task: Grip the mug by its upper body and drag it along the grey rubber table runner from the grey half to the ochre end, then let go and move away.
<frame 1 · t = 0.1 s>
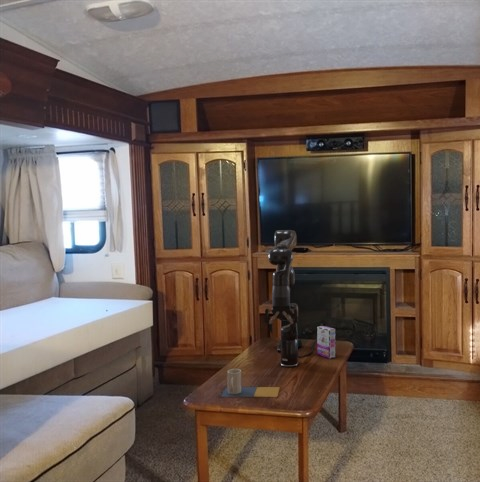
hand: (281, 332, 189), 29 cm above the table, tool pointing down, fingers open, 8 cm apart
candy bar box: (326, 356, 250), on the table
runner: (251, 392, 197), on the table
mug: (234, 391, 197), resting on runner
miniature car: (289, 349, 263), on the table
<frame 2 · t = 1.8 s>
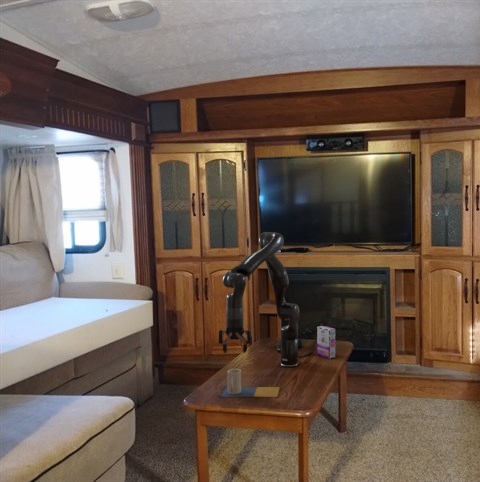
hand: (235, 352, 196), 18 cm above the table, tool pointing down, fingers open, 8 cm apart
nothing on the table moved.
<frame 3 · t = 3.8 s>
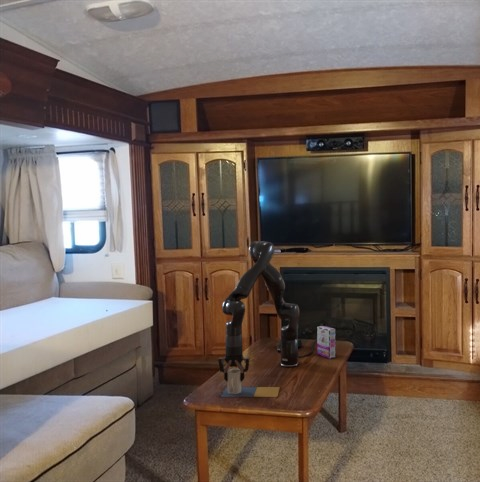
hand: (234, 380, 197), 5 cm above the table, tool pointing down, fingers closed on mug, 6 cm apart
mug: (234, 391, 197), resting on runner, touching gripper
everything else where it was.
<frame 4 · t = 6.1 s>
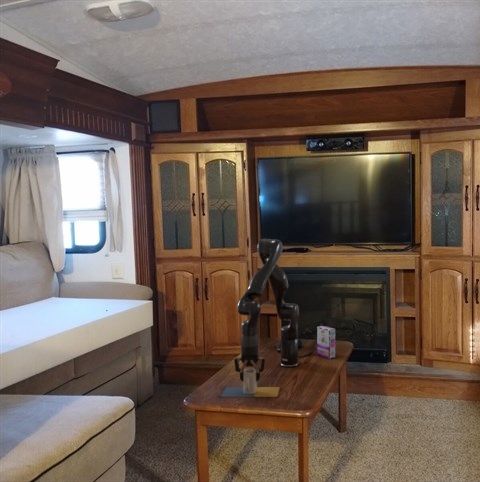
hand: (250, 380, 197), 5 cm above the table, tool pointing down, fingers closed on mug, 6 cm apart
mug: (250, 391, 198), resting on runner, touching gripper
everything else where it was.
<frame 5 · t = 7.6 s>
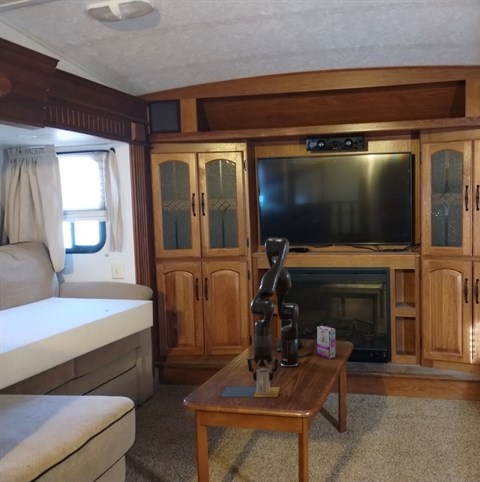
hand: (263, 380, 197), 5 cm above the table, tool pointing down, fingers closed on mug, 6 cm apart
mug: (263, 391, 197), resting on runner, touching gripper
everything else where it was.
when the fingers open (5 cm above the table, at t = 8.7 s): mug stays where it is, resting on runner.
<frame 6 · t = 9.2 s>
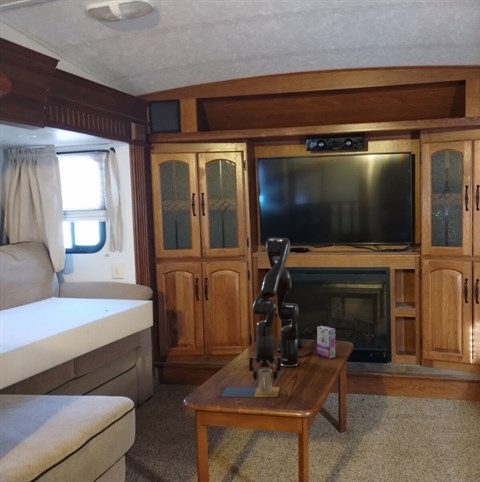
hand: (265, 379, 197), 6 cm above the table, tool pointing down, fingers open, 8 cm apart
mug: (265, 391, 197), resting on runner
everything else where it was.
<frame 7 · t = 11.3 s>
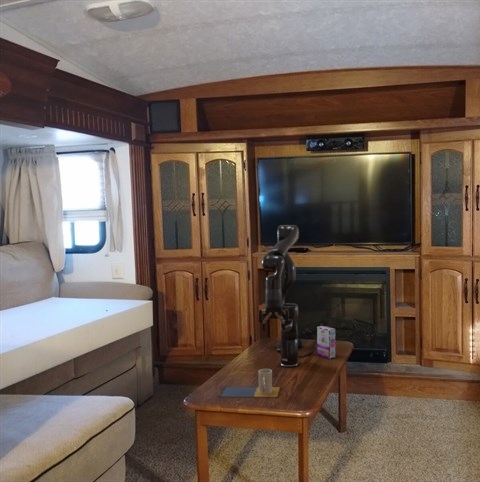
hand: (274, 331, 207), 25 cm above the table, tool pointing down, fingers open, 8 cm apart
nothing on the table moved.
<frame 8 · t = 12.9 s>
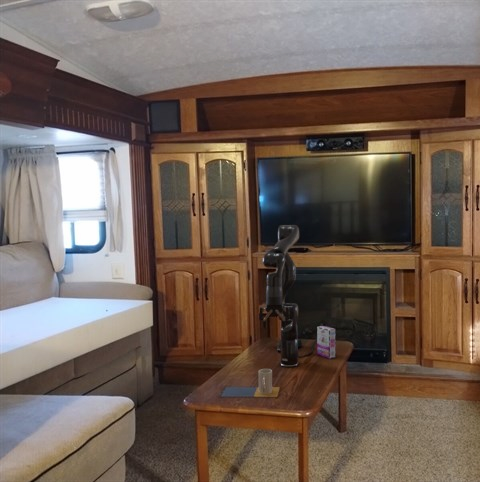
hand: (274, 328, 208), 26 cm above the table, tool pointing down, fingers open, 8 cm apart
nothing on the table moved.
at the end: mug 0.3 cm from the target spot on the runner, point 0.2 cm above the runner's base; mug tilted 0°; the gripper is holding nothing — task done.
